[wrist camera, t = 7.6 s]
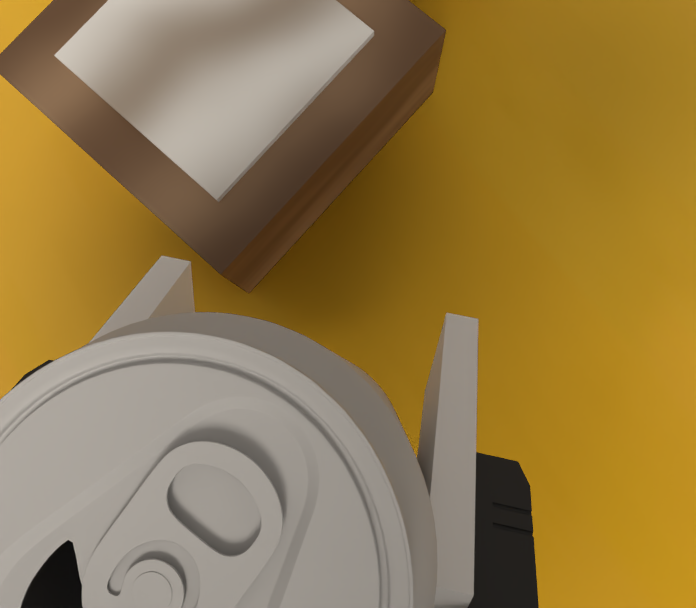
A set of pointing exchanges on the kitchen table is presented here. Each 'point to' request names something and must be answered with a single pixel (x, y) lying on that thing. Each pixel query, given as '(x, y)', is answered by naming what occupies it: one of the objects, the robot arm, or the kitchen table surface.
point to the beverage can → (209, 476)
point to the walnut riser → (229, 106)
